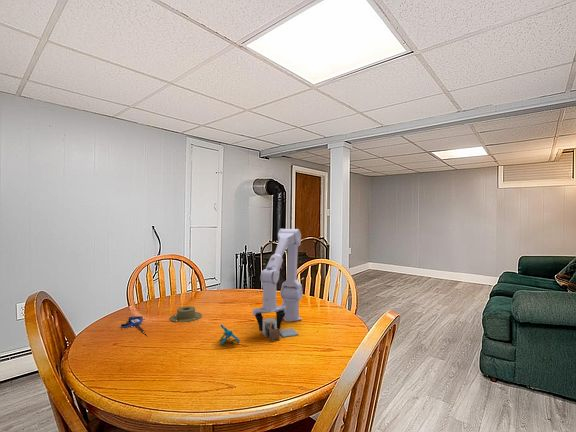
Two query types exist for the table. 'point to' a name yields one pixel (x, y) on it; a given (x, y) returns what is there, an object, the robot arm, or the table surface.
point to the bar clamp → (134, 322)
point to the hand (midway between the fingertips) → (269, 329)
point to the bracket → (265, 325)
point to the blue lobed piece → (227, 335)
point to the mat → (288, 332)
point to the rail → (273, 333)
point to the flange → (186, 314)
